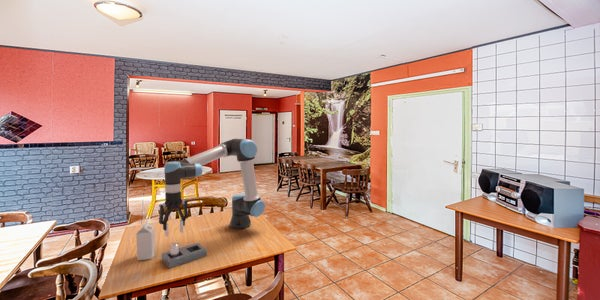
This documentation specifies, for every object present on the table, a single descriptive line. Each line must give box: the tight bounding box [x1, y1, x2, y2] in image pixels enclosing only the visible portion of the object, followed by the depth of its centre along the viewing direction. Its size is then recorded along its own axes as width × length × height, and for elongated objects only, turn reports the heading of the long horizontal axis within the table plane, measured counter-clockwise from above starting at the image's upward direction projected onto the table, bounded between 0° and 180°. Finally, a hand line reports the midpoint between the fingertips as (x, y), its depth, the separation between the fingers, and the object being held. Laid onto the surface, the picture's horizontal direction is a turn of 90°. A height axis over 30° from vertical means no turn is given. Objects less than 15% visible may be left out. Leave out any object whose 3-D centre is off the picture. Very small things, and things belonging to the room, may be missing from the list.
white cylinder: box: [169, 242, 180, 258], centre depth 142 cm, size 4×4×9 cm
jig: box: [161, 242, 208, 269], centre depth 146 cm, size 20×12×4 cm, turn 134°
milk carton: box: [135, 221, 156, 261], centre depth 145 cm, size 7×7×19 cm
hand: (174, 233), depth 141 cm, fingers open, 7 cm apart
